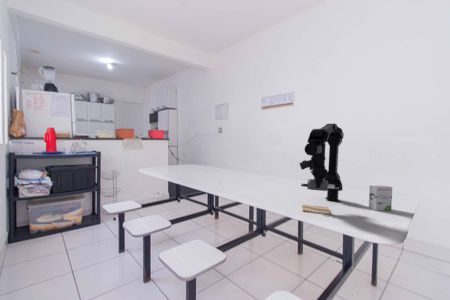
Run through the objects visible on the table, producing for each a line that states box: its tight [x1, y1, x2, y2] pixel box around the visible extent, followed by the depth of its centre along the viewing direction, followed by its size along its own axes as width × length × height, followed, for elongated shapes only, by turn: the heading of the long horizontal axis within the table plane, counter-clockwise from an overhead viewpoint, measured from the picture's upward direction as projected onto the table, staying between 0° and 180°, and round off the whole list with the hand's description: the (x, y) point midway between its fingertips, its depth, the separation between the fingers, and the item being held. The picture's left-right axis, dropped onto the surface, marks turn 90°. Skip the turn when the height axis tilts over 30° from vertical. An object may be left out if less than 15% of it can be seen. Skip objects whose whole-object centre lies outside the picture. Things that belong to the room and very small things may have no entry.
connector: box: [300, 178, 335, 192], centre depth 103 cm, size 4×15×4 cm, turn 72°
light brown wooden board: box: [301, 204, 332, 216], centre depth 104 cm, size 10×12×1 cm
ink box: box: [368, 185, 393, 212], centre depth 107 cm, size 9×5×12 cm, turn 96°
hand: (317, 187), depth 103 cm, fingers closed on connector, 4 cm apart
